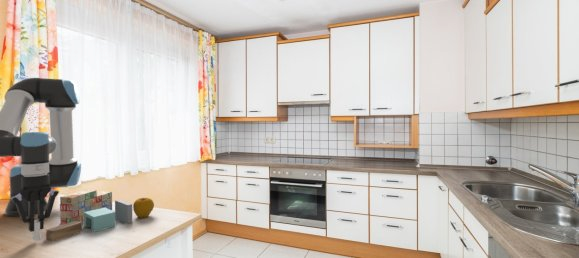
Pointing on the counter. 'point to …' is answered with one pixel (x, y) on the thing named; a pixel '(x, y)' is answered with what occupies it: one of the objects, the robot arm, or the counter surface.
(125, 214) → the wall
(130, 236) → the counter surface
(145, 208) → the apple
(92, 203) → the stack of blocks
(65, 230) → the brown wooden bar
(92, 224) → the block
